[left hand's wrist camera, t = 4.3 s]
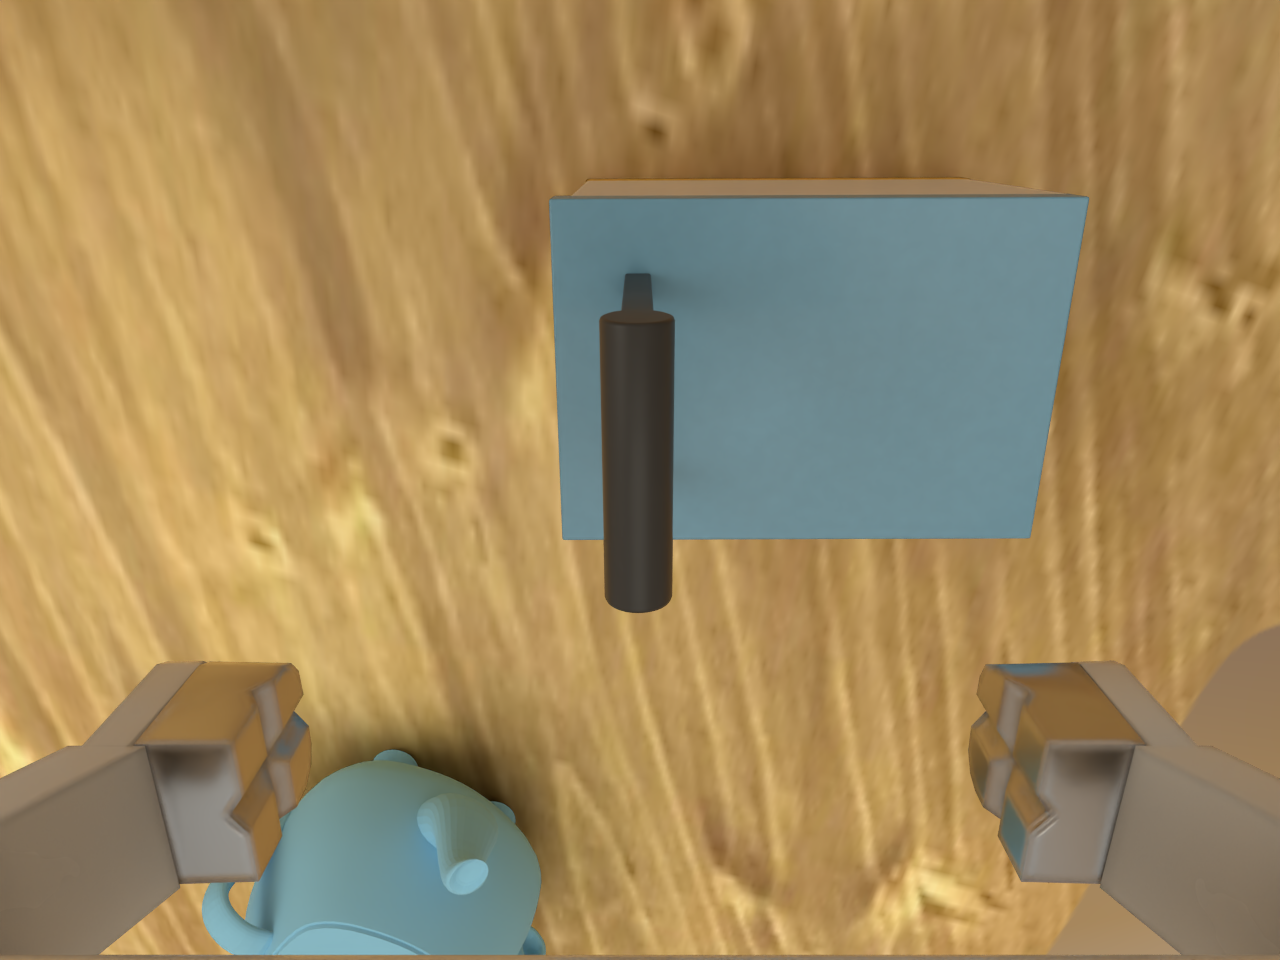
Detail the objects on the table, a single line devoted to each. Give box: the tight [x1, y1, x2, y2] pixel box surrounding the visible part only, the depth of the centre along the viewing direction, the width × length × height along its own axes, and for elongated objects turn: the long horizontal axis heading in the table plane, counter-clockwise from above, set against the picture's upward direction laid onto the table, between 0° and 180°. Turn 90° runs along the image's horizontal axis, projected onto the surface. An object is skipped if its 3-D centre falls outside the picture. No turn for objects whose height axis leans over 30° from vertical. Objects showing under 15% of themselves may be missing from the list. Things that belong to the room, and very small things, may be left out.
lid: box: [549, 194, 1089, 613], centre depth 22 cm, size 14×10×9 cm
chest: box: [572, 178, 1065, 196], centre depth 30 cm, size 14×10×9 cm
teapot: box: [202, 750, 546, 955], centre depth 38 cm, size 13×14×11 cm
